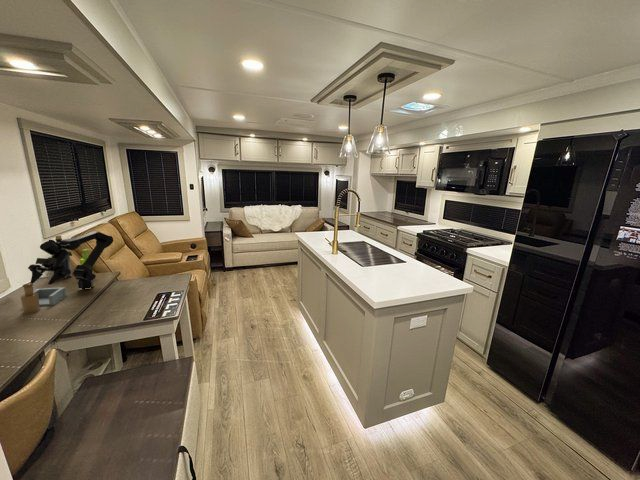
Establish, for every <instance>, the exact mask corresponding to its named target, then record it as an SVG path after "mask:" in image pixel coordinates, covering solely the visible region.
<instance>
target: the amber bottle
mask: <svg viewBox="0 0 640 480" xmlns="http://www.w3.org/2000/svg"><path fill="white" fill-rule="evenodd" d="M33 286H34V283H31V282H30V283H25V284H22V288H23V291H24V294H23V295H21V296H20V301H21V306H22V307H21V308H22V313H23V314H24V315H32V314H36V313H38V312H39V311H41V306H40V305H39V298H38V294H37V293H33V291H34V287H33Z"/></svg>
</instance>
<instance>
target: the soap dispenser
mask: <svg viewBox="0 0 640 480" xmlns="http://www.w3.org/2000/svg"><path fill="white" fill-rule="evenodd" d="M91 250H92V248H84V249H82V250H81V252H82V254H81V258H80V259H79V261H80V263H79V264H80V265H82V264H83V263H84V262H85V261H86V259H87V258H88V256H89V255H90V254H89V253H88V251H91ZM93 272H94V271H93ZM93 272H92V273H93ZM93 274H94V273H93Z"/></svg>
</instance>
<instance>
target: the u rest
mask: <svg viewBox="0 0 640 480" xmlns="http://www.w3.org/2000/svg"><path fill="white" fill-rule="evenodd" d="M33 293H37V294H38V298H39V305H40V307H45V306H46V307H47V306H55V305H57V304H58V303H59V302H61V301H62V300H63V299H64V298H66V297H67V289H66V287H50V288H49V287H45V288H44V287H43V288H36V289H34V290H33ZM65 296H66V297H65ZM60 300H61V301H60Z"/></svg>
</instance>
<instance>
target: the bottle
mask: <svg viewBox="0 0 640 480" xmlns="http://www.w3.org/2000/svg"><path fill="white" fill-rule="evenodd" d="M62 240H63V238H62V235H61V234H56V235H55V239H54V241H55V242H56V243H59V242H60V241H62ZM65 250H67V249H65ZM52 256H53V255H51V257H52ZM64 263H65V264H64V265H63V264H62V265H61V266H62V267H66V268H68V269H70V270H71V271H72V266H71V256H67V257H66V259H65V260H64ZM69 276H73V272H71V273H70V275H67V276H65V277H69ZM65 277H63V278H65ZM69 278H70V277H69ZM65 279H66V278H65Z"/></svg>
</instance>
